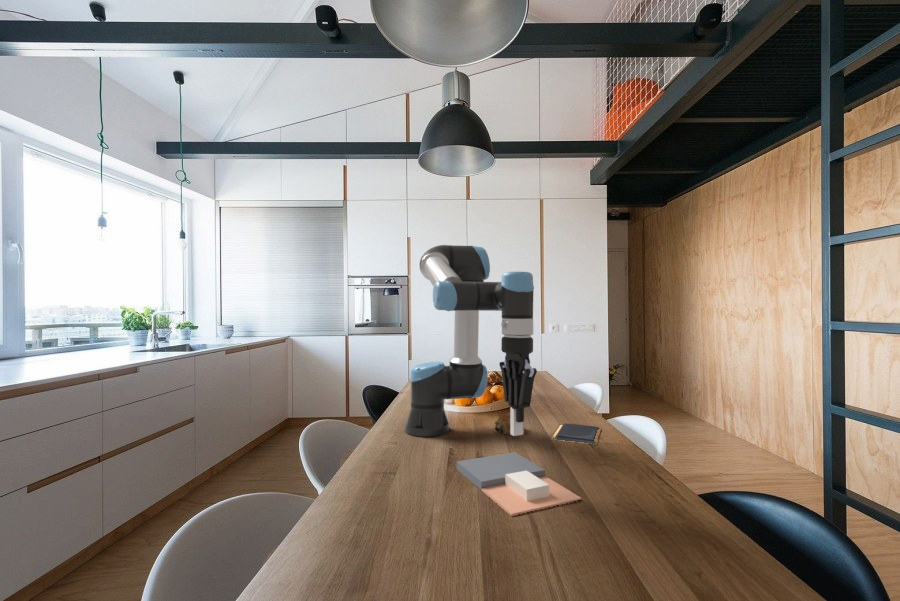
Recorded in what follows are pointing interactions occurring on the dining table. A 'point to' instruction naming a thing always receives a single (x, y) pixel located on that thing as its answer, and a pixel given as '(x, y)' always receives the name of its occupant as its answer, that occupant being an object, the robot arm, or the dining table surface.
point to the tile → (527, 485)
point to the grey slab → (496, 469)
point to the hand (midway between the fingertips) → (516, 434)
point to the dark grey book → (576, 433)
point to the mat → (519, 505)
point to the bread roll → (504, 424)
